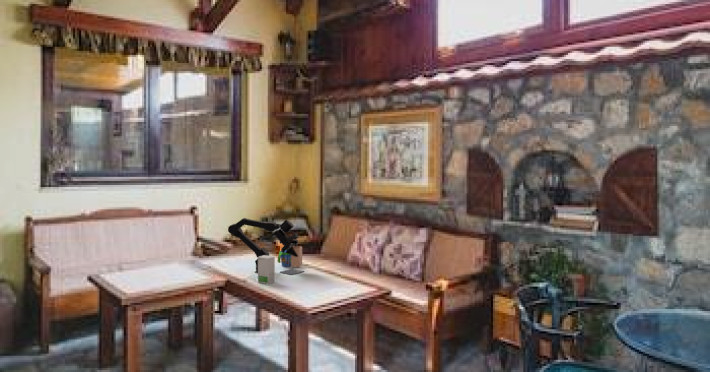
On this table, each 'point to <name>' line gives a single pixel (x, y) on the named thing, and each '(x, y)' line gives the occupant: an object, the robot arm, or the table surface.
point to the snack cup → (284, 259)
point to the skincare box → (266, 269)
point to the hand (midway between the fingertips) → (298, 255)
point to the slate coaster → (292, 271)
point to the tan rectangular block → (297, 260)
